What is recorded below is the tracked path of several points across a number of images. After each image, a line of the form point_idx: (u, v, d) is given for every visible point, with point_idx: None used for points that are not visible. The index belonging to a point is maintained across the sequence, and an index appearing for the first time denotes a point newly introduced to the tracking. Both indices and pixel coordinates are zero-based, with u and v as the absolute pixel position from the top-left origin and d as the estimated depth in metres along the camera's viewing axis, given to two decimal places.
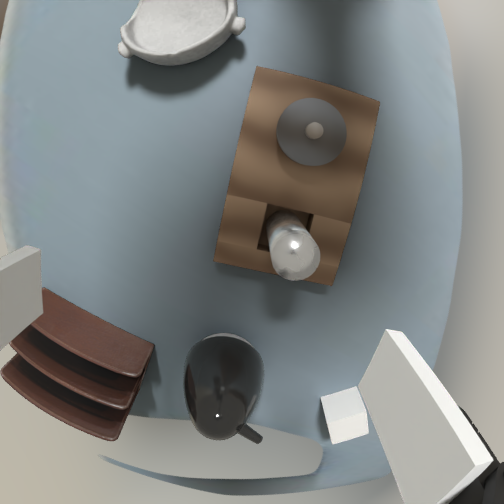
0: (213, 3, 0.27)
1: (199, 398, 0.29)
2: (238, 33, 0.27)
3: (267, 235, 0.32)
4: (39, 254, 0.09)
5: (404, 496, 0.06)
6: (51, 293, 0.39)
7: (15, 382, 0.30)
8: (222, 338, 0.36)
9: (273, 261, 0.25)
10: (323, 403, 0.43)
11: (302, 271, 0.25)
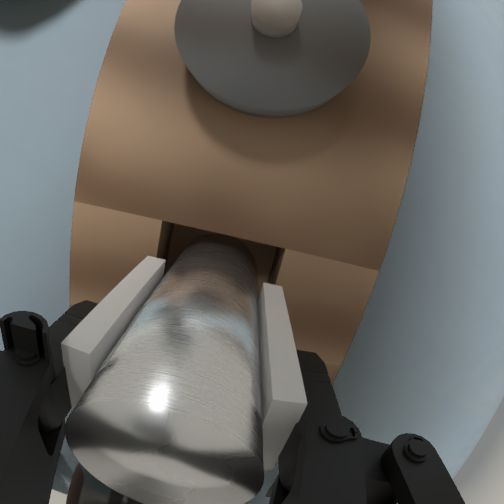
0: None
1: None
2: None
3: None
4: (164, 264, 0.12)
5: None
6: None
7: None
8: None
9: (83, 462, 0.05)
10: None
11: (195, 501, 0.05)
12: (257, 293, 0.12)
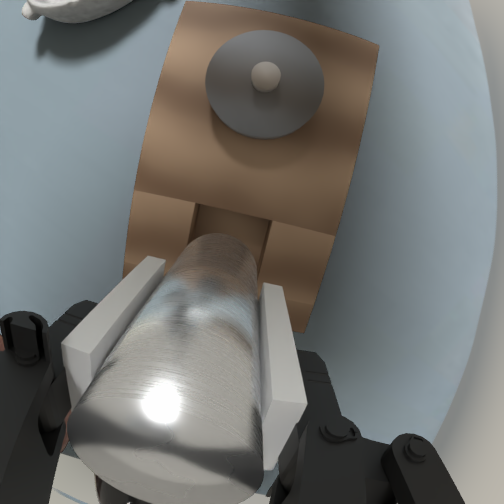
0: None
1: (102, 481, 0.16)
2: None
3: None
4: (164, 264, 0.12)
5: None
6: None
7: None
8: None
9: (84, 459, 0.05)
10: None
11: (196, 498, 0.05)
12: (257, 292, 0.13)
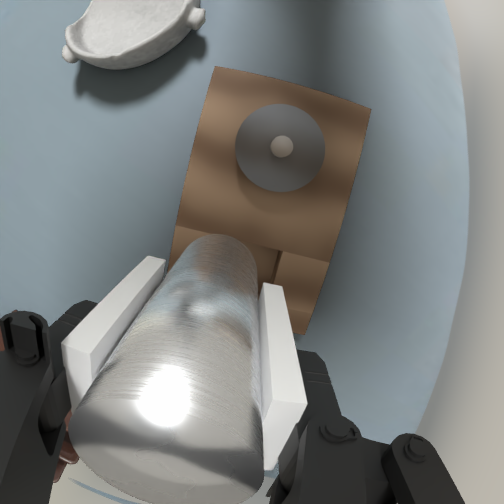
0: None
1: None
2: (196, 27, 0.22)
3: None
4: (164, 264, 0.12)
5: None
6: None
7: None
8: None
9: (85, 460, 0.05)
10: None
11: (197, 499, 0.05)
12: (257, 293, 0.13)
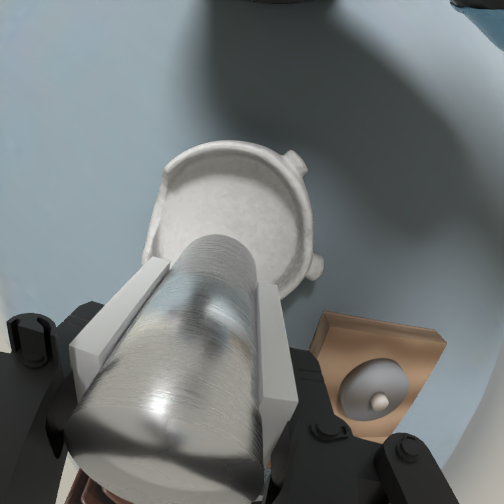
0: (277, 216, 0.24)
1: None
2: None
3: None
4: (169, 265, 0.12)
5: None
6: None
7: None
8: None
9: (82, 465, 0.05)
10: None
11: None
12: None
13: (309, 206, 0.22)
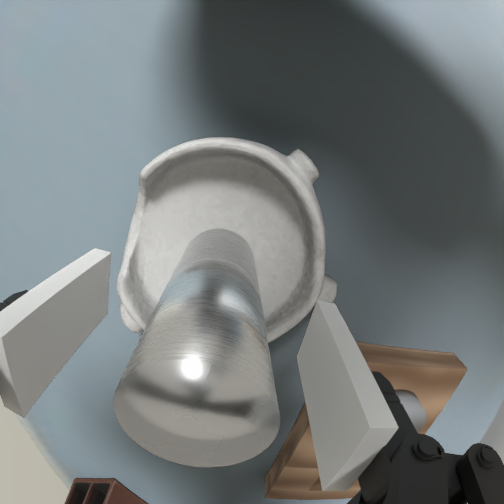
0: (280, 231, 0.20)
1: None
2: None
3: None
4: (109, 257, 0.11)
5: (320, 462, 0.07)
6: (122, 487, 0.31)
7: None
8: None
9: (125, 426, 0.06)
10: None
11: (222, 453, 0.07)
12: None
13: (321, 220, 0.17)
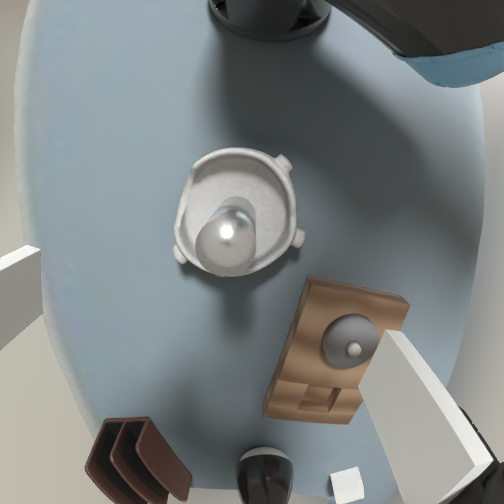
0: (271, 201, 0.34)
1: (254, 502, 0.36)
2: (297, 247, 0.34)
3: None
4: (39, 254, 0.09)
5: (404, 496, 0.06)
6: (152, 425, 0.46)
7: (96, 478, 0.35)
8: (266, 456, 0.43)
9: (197, 251, 0.20)
10: (332, 479, 0.49)
11: (233, 266, 0.21)
12: None
13: (293, 193, 0.31)
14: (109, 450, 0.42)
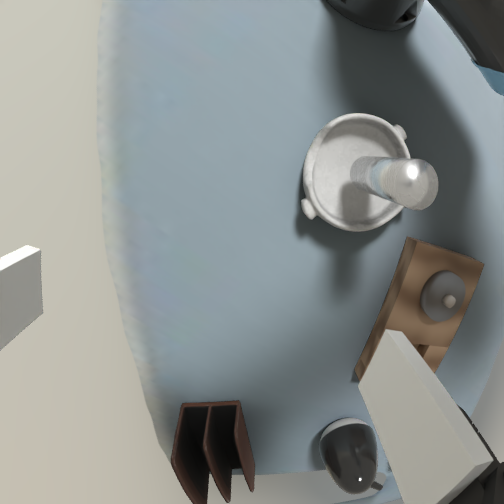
0: None
1: (350, 472, 0.36)
2: None
3: (362, 174, 0.28)
4: (39, 254, 0.09)
5: (404, 495, 0.06)
6: (241, 410, 0.46)
7: (180, 472, 0.35)
8: (353, 425, 0.43)
9: (398, 185, 0.21)
10: None
11: (422, 201, 0.21)
12: None
13: None
14: (186, 438, 0.43)
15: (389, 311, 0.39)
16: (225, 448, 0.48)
